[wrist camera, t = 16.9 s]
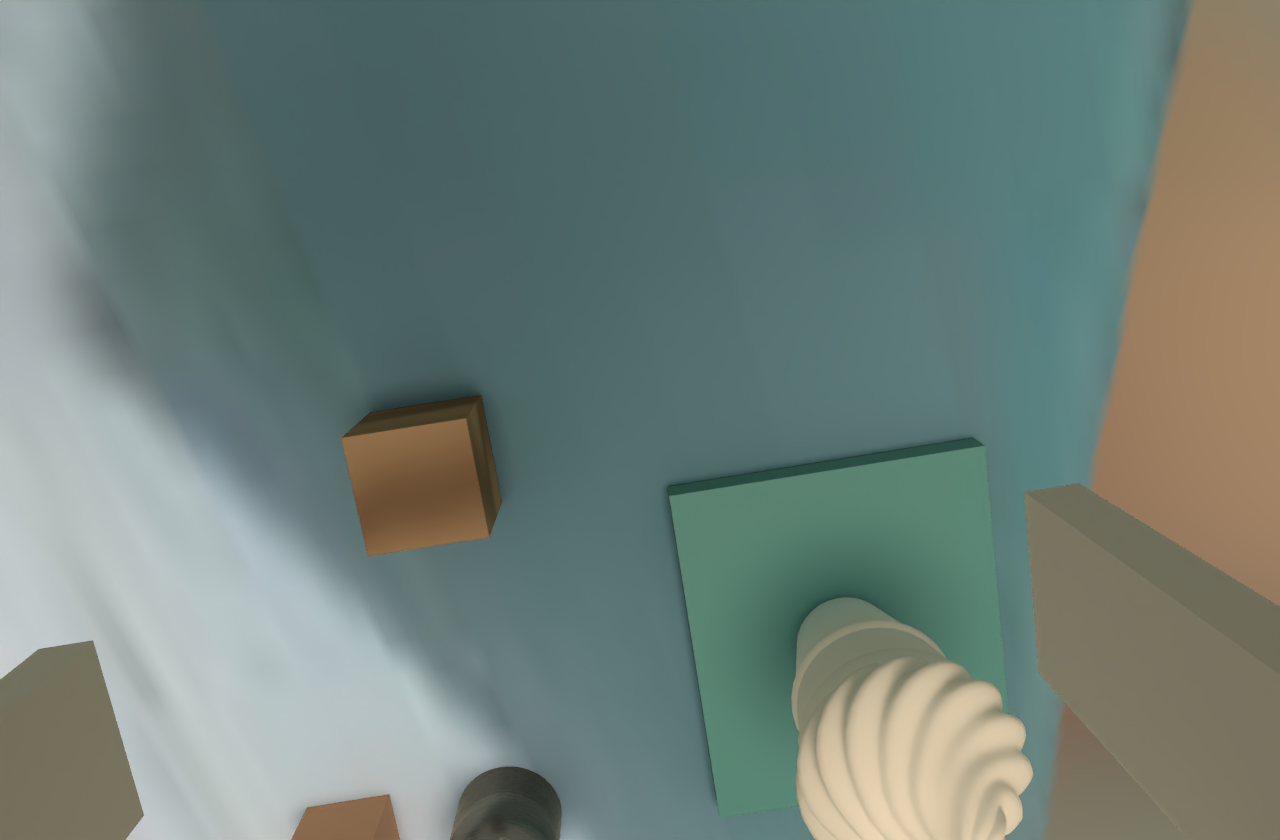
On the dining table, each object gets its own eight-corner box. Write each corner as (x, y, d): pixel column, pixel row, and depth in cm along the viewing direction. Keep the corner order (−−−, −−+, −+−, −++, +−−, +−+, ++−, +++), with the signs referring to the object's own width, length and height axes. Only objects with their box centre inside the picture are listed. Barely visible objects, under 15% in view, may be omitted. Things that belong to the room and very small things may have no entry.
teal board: (667, 486, 47) (669, 496, 45) (973, 437, 47) (985, 445, 45) (716, 800, 50) (719, 818, 49) (1001, 754, 50) (1013, 771, 49)
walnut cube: (370, 412, 46) (341, 438, 41) (481, 394, 46) (465, 418, 41) (393, 519, 47) (368, 556, 42) (502, 501, 47) (489, 537, 42)
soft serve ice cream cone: (734, 706, 48) (794, 956, 32) (774, 537, 46) (859, 713, 30) (908, 737, 48) (1052, 996, 33) (955, 570, 47) (1130, 760, 31)
